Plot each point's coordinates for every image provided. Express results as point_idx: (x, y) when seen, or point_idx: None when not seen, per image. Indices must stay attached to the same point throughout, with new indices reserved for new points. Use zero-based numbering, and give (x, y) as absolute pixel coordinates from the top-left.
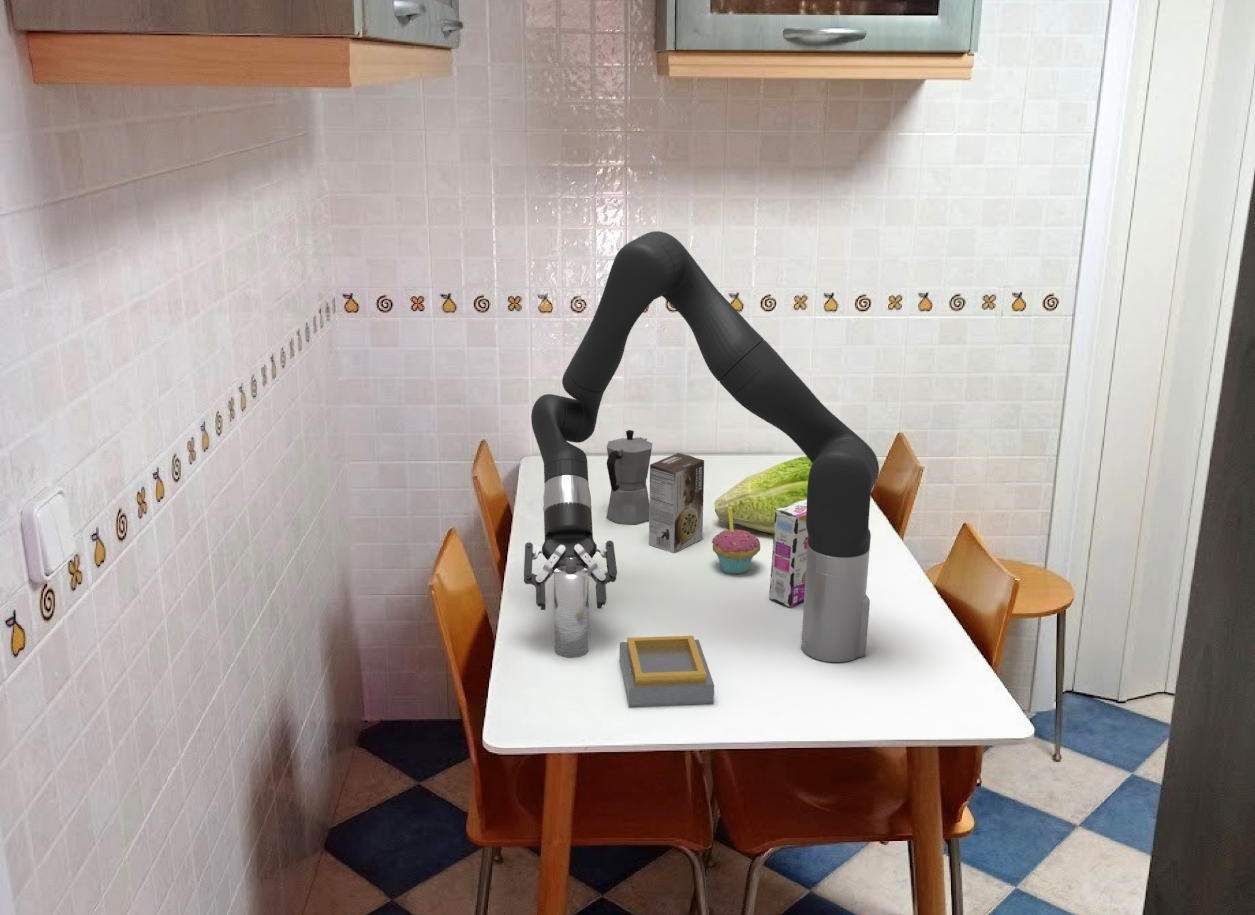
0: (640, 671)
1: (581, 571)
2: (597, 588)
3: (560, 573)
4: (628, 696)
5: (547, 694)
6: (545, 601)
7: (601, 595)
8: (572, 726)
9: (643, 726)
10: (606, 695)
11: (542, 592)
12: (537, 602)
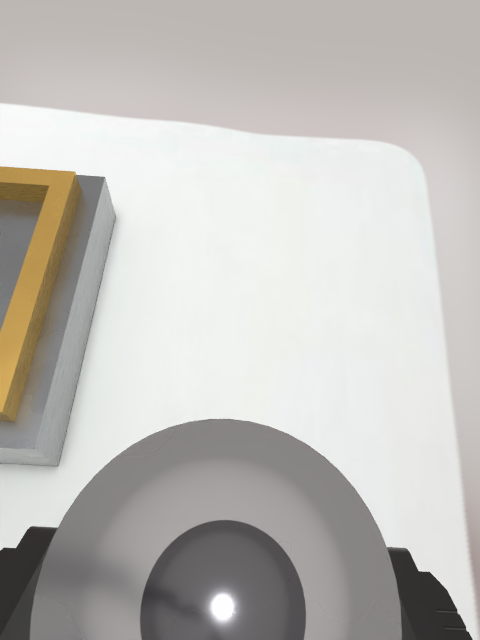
0: (50, 193)
1: (109, 597)
2: (8, 613)
3: (332, 568)
4: (108, 211)
5: (311, 296)
6: None
7: (8, 563)
8: (259, 171)
9: (107, 152)
10: (157, 271)
11: (427, 618)
12: (433, 577)
